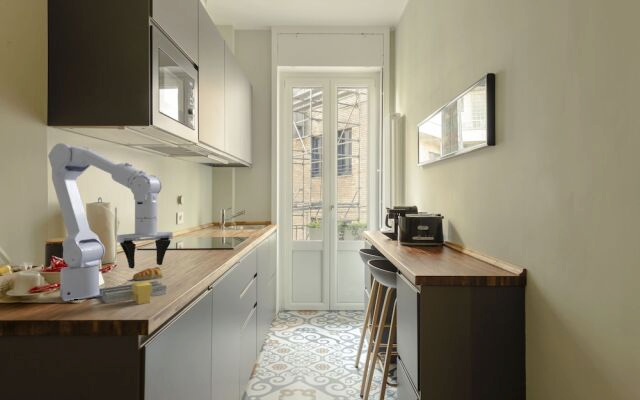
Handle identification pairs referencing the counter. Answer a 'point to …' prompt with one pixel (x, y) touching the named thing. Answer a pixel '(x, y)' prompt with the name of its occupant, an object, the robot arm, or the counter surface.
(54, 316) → the counter surface
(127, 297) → the rail
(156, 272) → the pastry
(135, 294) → the yellow block with ridge
